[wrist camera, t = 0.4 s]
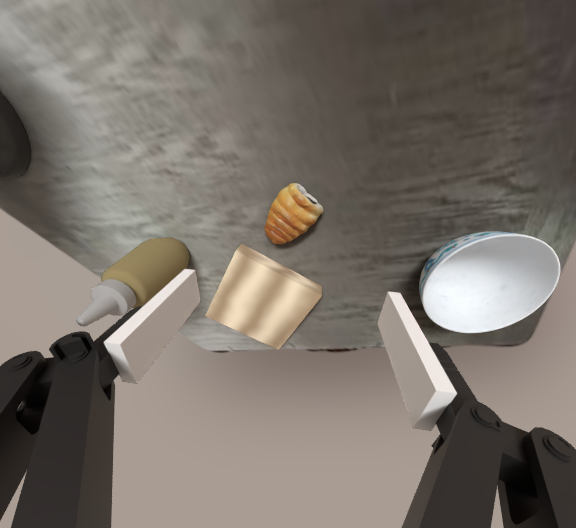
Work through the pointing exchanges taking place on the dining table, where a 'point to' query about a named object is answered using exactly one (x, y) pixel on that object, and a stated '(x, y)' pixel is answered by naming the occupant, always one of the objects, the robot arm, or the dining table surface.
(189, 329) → the dining table surface
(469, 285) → the chinaware
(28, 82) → the dining table surface
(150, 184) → the dining table surface
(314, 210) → the pastry
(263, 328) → the serving board
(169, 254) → the squeeze bottle
